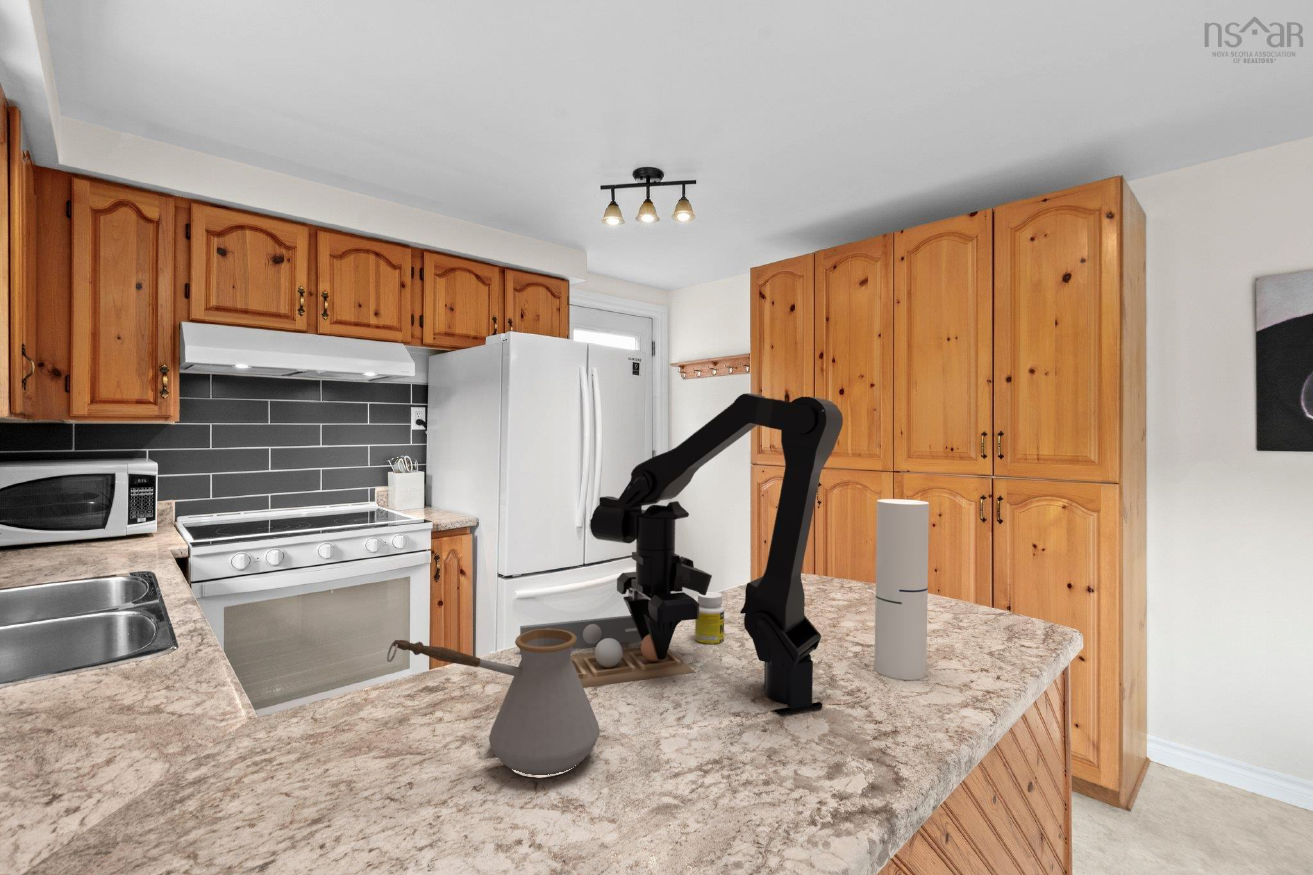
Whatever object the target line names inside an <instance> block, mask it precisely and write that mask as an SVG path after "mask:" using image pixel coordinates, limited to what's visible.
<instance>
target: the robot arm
mask: <svg viewBox="0 0 1313 875" xmlns="http://www.w3.org/2000/svg"><path fill="white" fill-rule="evenodd" d="M843 424H844V417H843V412H841V410H840V409H839V407H838V405H836V404H835V403H834V401H831V400H828V399H825V398H819V397H813V396H799V397H798V398H795V399H793V400H792V401H788V400H781V399H777V398H771V397H766V396H764V395H763V394H755V393H750V392H748V393H742V394H741V395H739V396H737V397H736V399H735V400H734V401H733V403H731V404H730V405H728V406H727V407H726V408H725V409H723V410H722V411H720V413H718V414H717V415H716V416H714V417H713V418H711V420H709V421H708V422H707V423H705V424H704V425H703V426H701V427H700V429H698V430H696V431H695V432H694V433H692V434H691V435H690V436H688V438H685V440H684V441H683V442H681V443H679V444H678V445H677V446H676V447H673V448H671V449H670V450H667V451H666V452H663V453H659V454H657V455H655V456H653V457H650V458H649V459H647V460H644V461H642V462H640V463H639V464H636V465H635V467H634V468H633V469H632V470H631V472H630V480H629V482H628V484H627V485H626V487H625V488H624V490H623V491H622V493H621V495H620V496H619V497H616V496H609V495H607V496H600V497H599V502H598V503H599V504H598V505H597V506H596V507H595V509H594V510H593V513H592V516H591V518H590V520H589V526H590V531H591V532H590V533H591V534H592V536H593V537H594V538H595V539H596V540H600V541H609V542H614V543H621V544H632V543H636V544H635V545H636V546H635V547H636V548H635V549H636V550H635V551H632V552H631V559H632V560H633V561H635V571H631V572H630V571H629V572H627V571H626V572H621V574H620V575H619V576H618V577H617V578H616V591H617V592H618V593H620V594H621V595H626V593H627V594H628V596H623V601H624V603H625V606H626V607H627V609H628V611H629V615H631V616H632V619H633V621H634V623H635V626H636V628H637V631H638V633H639V636H640V638H641V640H643V639H644V638H645V637H646V636H647V635H649V634H650V637H651V640H652V644H653V647H654V650H655V653H656V656H657V659H658V660H662V659H665V658H666V655H667V652H668V649H669V648H670V644H671V642H672V639H673V636H674V632H675V631H676V628H677V626H678V625H679V624H680V623H681V622H683V621H691V620H692V621H693V620H695V619H698V618H699V603H698V600H696V599H695V598H694V597H692V596H691V595H689V594H687V593H685V592H684V591H683V589H687V590H690V591H693V592H697V593H698V594H701V595H706V593H707V592H708V589H709V586H710V583H711V581H712V577H713V575H712V574H710V573H708V572H706V571H704V570H702V569H699V568H697V567H695V565H694V561H693V560H692V559H690V558H687V557H685V556H680V555H679V554H677V553H676V520H680V519H685V518H689V516H690V514H689V512H688V510H686V509H685V508H684V507H683V506H681V504H680V502H679V501H678V500H677V501H675V500H674V501H670V502H669V503H668V504H667V505H660V504H658V503H659V502H661V501H666V500H672V499H674V498H676V497H678V496H679V495H680V493H681V492H683V490H684V489H685V488H686V487H687V486H688V485H689V484H690V483H691V481H692V479H693V477H694V475H695V474H696V472H698V470H699V469H700V468H701V467H703V466H704V465H706V463H708V462H710V461H711V460H712V459H714V458H716V456H718V455H719V454H720V453H721V452H723V451H724V450H726V449H727V448H729V447H730V446H731V445H733V444H734V443H735V442H737V441H738V440H739V439H741V438H742V437H744V435H746V434H748V433H749V432H750V431H751V430H753V429H754V428H755V427H757V426H759V427H763V428H764V427H765V428H768V429H773V430H778V431H781V432H780V433H781V434H780V443H781V450H782V454H783V459H784V471H783V477H782V481H781V488H780V494H779V498H778V499H779V500H778V502H777V503H778V504H777V510H776V514H775V515H776V516H775V519H774V524H773V529H772V534H771V536H772V537H771V540H770V544H769V545H770V546H769V551H768V556H767V562H766V567H765V571H764V572H763V575H762V576H760V577H758V578H756V579H753V580H751V581H749V582H747V583H746V586H745V593H744V594H745V596H744V598H745V599H744V604H743V607H742V608H741V610H740V614H741V615H743V616H744V617H743V626H744V629H745V630H746V632H747V634H748V635H749V637H750V638H751V639H752V642H753V646H754V648H755V649H754V650H755V653H756V655H757V659H758V660H759V661H760V662H764V667H763V668H764V670H763V671H764V674H763V675H764V676H763V679H764V680H763V686H764V690H765V691H764V692H765V697H766V698H767V699H769V700H770V701H772V702H774V703H777V704H781V705H786V706H788V707H781V708H776V709H772V711H773V712H774V713H776V714H777V715H779V716H787V715H791V714H796V713H797V714H798V713H802V712H803V713H805V712H808V711H809V712H811V711H815V710H821V709H822V708H823V703H822V702H821V701H818V702H817V701H816V702H813V678H814V675H813V674H814V673H813V672H814V671H813V670H814V661H813V660H812V655H811V652H813V651H815V650H817V649H818V646H819V644H820V641H821V638H822V634H821V633H820V632H819V631H818V630H817V628H816V627H815V625H814V624H812V622H811V621H810V620H809V618H808V617H807V616H806V615H805V605H804V603H805V604H806V602H805V599H806V598H805V591H804V590H805V589H804V585H803V580H802V570H803V565H804V560H805V556H806V550H807V545H808V539H809V535H810V530H811V524H812V519H813V515H814V509H815V504H816V501H817V500H816V499H817V494H818V489H819V488H818V487H819V483H820V478H821V474H822V471H823V469H824V466H825V465H826V463H827V461H828V459H829V457H831V454H832V453H833V451H834V449H835V446H836V444H837V440H838V439H839V436H840V433H841V431H842V428H843ZM644 506H648V507H647V508H646V509H643V507H644ZM635 541H636V542H635ZM627 591H628V592H627Z"/></svg>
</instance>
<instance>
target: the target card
mask: <svg viewBox="0 0 1313 875" xmlns="http://www.w3.org/2000/svg"><path fill="white" fill-rule="evenodd" d="M534 629H559V630H565V631H569V632H571V633H573V634H575V635H576V637H577V641H576V643H575V644H574V645H573V646H572V650H574V649H584V648H593V647H596V646H597V644H598V643H599V642H600V641H601V640H603V639H606V638H612V639H615V640H616V641H618V642H619V643H620V644H628V643H636V642H637V643H638V642H642V640H641V638H640V636H639V633H638V631H637V628H636V626H635V623H634V621H633V619H632V616H631V614H629V615H621V616H609V617H601V618H588V619H580V620H579V619H578V620H569V621H558V622H550V623H549V622H548V623H538V624H529V625H527V624H526V625H520V627H519V635H521V634H523V633H526V632H528V631H531V630H534ZM519 653H520V652H519ZM520 655H521V653H520Z"/></svg>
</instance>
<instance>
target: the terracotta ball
mask: <svg viewBox="0 0 1313 875" xmlns="http://www.w3.org/2000/svg"><path fill="white" fill-rule="evenodd" d="M640 648H641V652H642V655H643V656H644V657H645V658H646V659H647V660H649V661H652V662H657V661H660V660H658V659H657V656H656V653H655V650H654V647H653V644H652V640H651V637H650V634H649V635H647V636H646V637H645V638H644V639H643V640H642V641H641V643H640Z"/></svg>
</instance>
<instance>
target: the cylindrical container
mask: <svg viewBox="0 0 1313 875" xmlns="http://www.w3.org/2000/svg"><path fill="white" fill-rule="evenodd" d="M929 524H930V502H928V501H923V500H916V499H901V498H899V499H898V498H881V499H877V500H876V538H875V540H876V542H875V543H876V544H875V545H876V546H875V547H876V548H875V552H876V553H875V555H876V557H875V602H874V603H875V607H874V608H875V611H874V613H875V614H874V617H875V618H874V670H875V671H876V672H878V673H879V674H881V675H883V676H885V677H888V678H890V679H891V678H892V679H896V680H903V681H917V680H922V679H924V678H925V677H926V676H927V653H928V652H927V648H928V647H927V646H928V645H927V644H928V641H927V640H928V593H929V590H928V587H929V586H928V585H929V540H930V538H929V536H930V534H929V532H930V531H929V530H930V527H929V526H930V525H929Z"/></svg>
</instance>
